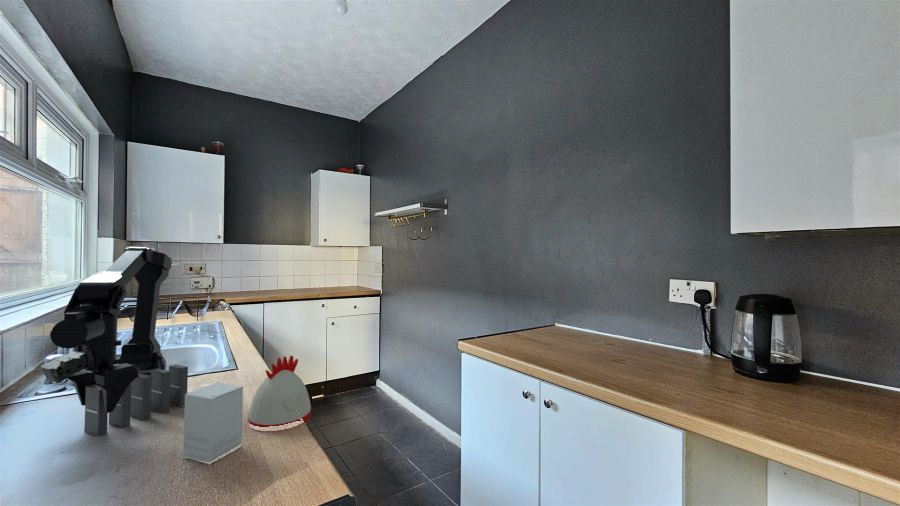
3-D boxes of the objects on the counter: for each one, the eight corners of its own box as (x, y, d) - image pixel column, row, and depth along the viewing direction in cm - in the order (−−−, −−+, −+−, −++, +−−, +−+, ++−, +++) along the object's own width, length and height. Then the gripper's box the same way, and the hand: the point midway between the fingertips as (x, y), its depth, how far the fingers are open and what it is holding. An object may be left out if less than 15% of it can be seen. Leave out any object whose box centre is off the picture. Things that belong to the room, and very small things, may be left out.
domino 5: (174, 401, 98) (175, 364, 98) (187, 404, 96) (188, 366, 96) (167, 404, 96) (168, 365, 96) (180, 407, 94) (181, 368, 95)
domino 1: (93, 428, 82) (95, 383, 82) (107, 433, 80) (108, 387, 80) (83, 432, 81) (85, 386, 81) (97, 436, 79) (99, 389, 79)
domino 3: (138, 413, 90) (139, 373, 90) (150, 417, 88) (152, 376, 88) (129, 416, 88) (131, 375, 89) (142, 420, 87) (144, 378, 87)
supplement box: (243, 447, 76) (244, 386, 76) (209, 466, 69) (211, 398, 69) (216, 440, 78) (218, 381, 78) (181, 458, 71) (183, 393, 71)
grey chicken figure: (322, 415, 92) (324, 355, 92) (270, 438, 80) (272, 369, 80) (288, 402, 99) (290, 347, 99) (236, 421, 87) (238, 358, 88)
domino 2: (117, 420, 86) (118, 378, 86) (130, 425, 84) (131, 381, 84) (108, 424, 85) (109, 380, 85) (121, 428, 83) (122, 383, 83)
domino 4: (157, 407, 94) (158, 368, 94) (169, 411, 92) (170, 371, 92) (149, 410, 92) (150, 370, 92) (162, 413, 91) (163, 373, 91)
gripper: (25, 340, 77) (22, 415, 76) (74, 350, 70) (71, 433, 70) (92, 330, 87) (90, 396, 87) (141, 339, 80) (139, 410, 80)
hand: (96, 408), depth 81 cm, fingers open, 9 cm apart
